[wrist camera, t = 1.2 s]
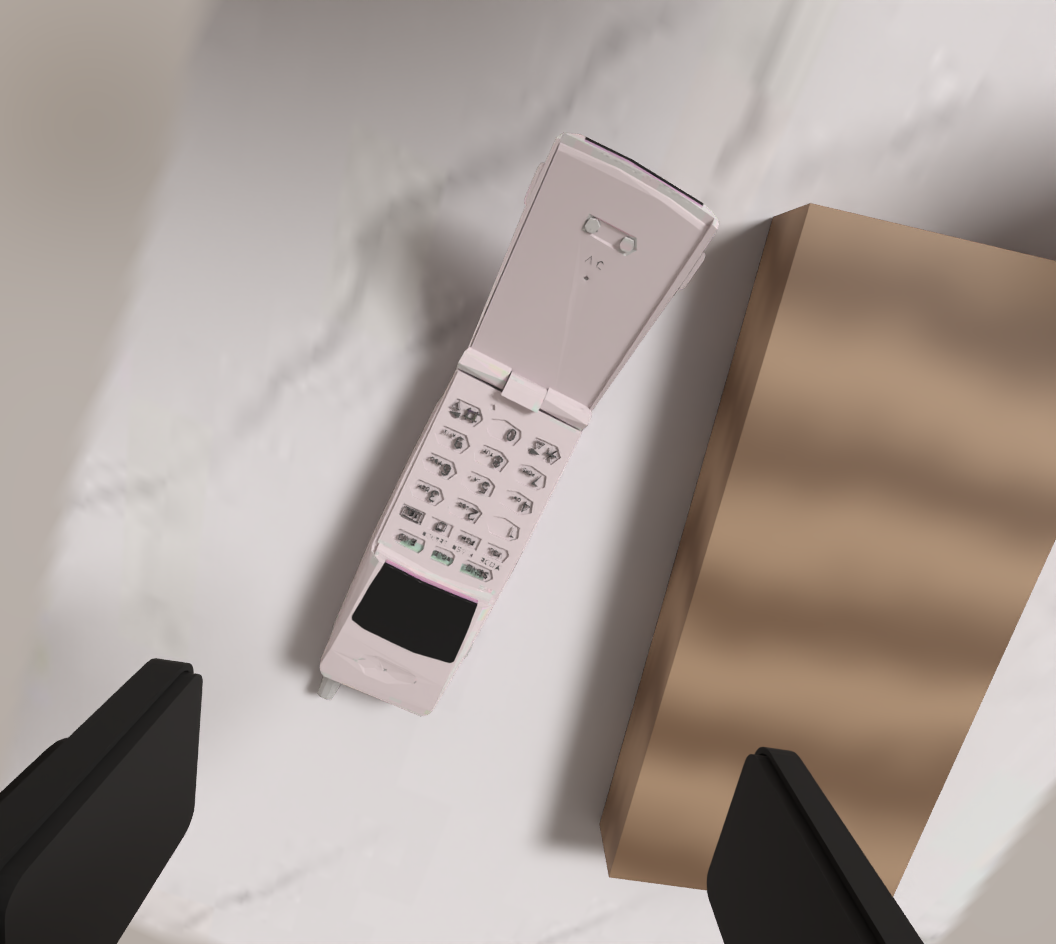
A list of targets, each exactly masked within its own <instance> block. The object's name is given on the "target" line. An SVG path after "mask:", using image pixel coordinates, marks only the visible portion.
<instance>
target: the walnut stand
mask: <svg viewBox="0 0 1056 944" xmlns="http://www.w3.org/2000/svg"><path fill="white" fill-rule="evenodd" d="M1055 540H1056V261H1054V260H1049V259H1045V258H1041V257H1037V256H1032V255H1028V254H1024V253H1020V252H1016V251H1011V250H1007V249H1003V248H999V247H994V246H990V245H986V244H982V243H977V242H973V241H969V240H965V239H960V238H956V237H952V236H948V235H943V234H939V233H935V232H931V231H926V230H922V229H918V228H914V227H909V226H905V225H901V224H897V223H892V222H888V221H884V220H880V219H875V218H871V217H867V216H863V215H858V214H854V213H850V212H846V211H841V210H837V209H833V208H829V207H824V206H820V205H816V204H812V203H809V204H807V205H804V206H801V207H799V208H796V209H793V210H791V211H788V212H785V213H783V214H780V215H777V216H775V217H773V219H772V222H771V226H770V229H769V233H768V236H767V240H766V243H765V247H764V250H763V254H762V257H761V261H760V264H759V268H758V271H757V275H756V278H755V282H754V285H753V289H752V292H751V296H750V299H749V303H748V306H747V310H746V313H745V317H744V320H743V324H742V327H741V331H740V334H739V338H738V341H737V345H736V348H735V352H734V355H733V359H732V362H731V366H730V369H729V373H728V376H727V380H726V383H725V387H724V390H723V394H722V397H721V401H720V404H719V408H718V411H717V415H716V418H715V422H714V425H713V429H712V432H711V436H710V439H709V443H708V446H707V450H706V453H705V457H704V460H703V464H702V467H701V471H700V474H699V478H698V481H697V485H696V488H695V492H694V495H693V499H692V502H691V506H690V509H689V513H688V516H687V520H686V523H685V527H684V530H683V534H682V537H681V541H680V544H679V548H678V551H677V555H676V558H675V562H674V565H673V569H672V572H671V576H670V579H669V583H668V586H667V590H666V593H665V597H664V600H663V604H662V607H661V611H660V614H659V618H658V621H657V625H656V628H655V632H654V635H653V639H652V642H651V646H650V649H649V653H648V656H647V660H646V663H645V667H644V670H643V674H642V677H641V681H640V684H639V688H638V691H637V695H636V698H635V702H634V705H633V709H632V712H631V716H630V719H629V723H628V726H627V730H626V733H625V737H624V740H623V744H622V747H621V751H620V754H619V758H618V761H617V765H616V768H615V772H614V775H613V779H612V782H611V786H610V789H609V793H608V796H607V800H606V803H605V807H604V810H603V814H602V817H601V821H600V830H601V835H602V841H603V846H604V852H605V858H606V863H607V869H608V875H609V877H611V878H619V879H626V880H633V881H641V882H648V883H656V884H663V885H671V886H678V887H686V888H693V889H701V890H707V874H708V870H709V867H710V864H711V861H712V858H713V855H714V852H715V849H716V846H717V843H718V840H719V837H720V834H721V831H722V828H723V825H724V822H725V819H726V816H727V813H728V810H729V807H730V804H731V801H732V798H733V795H734V792H735V789H736V786H737V783H738V780H739V777H740V774H741V771H742V768H743V765H744V762H745V760H746V757H747V756H748V755H749V754H755V752H756V750H757V749H758V748H759V747H769V748H776V749H782V750H789V751H793V752H795V753H796V754H797V755H798V756H799V757H800V758H801V760H802V761H803V763H804V764H805V766H806V767H807V769H808V770H809V772H810V773H811V775H812V776H813V778H814V779H815V781H816V782H817V784H818V785H819V787H820V788H821V790H822V791H823V793H824V794H825V796H826V797H827V799H828V800H829V802H830V803H831V805H832V806H833V808H834V809H835V811H836V812H837V814H838V815H839V817H840V818H841V820H842V821H843V823H844V824H845V826H846V827H847V829H848V830H849V832H850V833H851V835H852V836H853V838H854V839H855V841H856V842H857V844H858V845H859V847H860V848H861V850H862V851H863V853H864V854H865V856H866V857H867V859H868V860H869V862H870V863H871V865H872V866H873V868H874V869H875V871H876V872H877V874H878V875H879V877H880V878H881V880H882V881H883V883H884V884H885V886H886V887H887V889H888V890H889V892H890V893H891V895H892V896H894V893H895V891H896V889H897V887H898V885H899V882H900V880H901V878H902V876H903V874H904V871H905V869H906V867H907V865H908V863H909V860H910V858H911V856H912V854H913V852H914V850H915V847H916V845H917V843H918V841H919V839H920V836H921V834H922V832H923V830H924V828H925V825H926V823H927V821H928V819H929V817H930V814H931V812H932V810H933V808H934V806H935V803H936V801H937V799H938V797H939V795H940V792H941V790H942V788H943V786H944V784H945V781H946V779H947V777H948V775H949V773H950V770H951V768H952V766H953V764H954V762H955V759H956V757H957V755H958V753H959V751H960V748H961V746H962V744H963V742H964V740H965V737H966V735H967V733H968V731H969V729H970V726H971V724H972V722H973V720H974V718H975V715H976V713H977V711H978V709H979V707H980V704H981V702H982V700H983V698H984V696H985V693H986V691H987V689H988V687H989V685H990V682H991V680H992V678H993V676H994V674H995V671H996V669H997V667H998V665H999V663H1000V660H1001V658H1002V656H1003V654H1004V652H1005V649H1006V647H1007V645H1008V643H1009V641H1010V638H1011V636H1012V634H1013V632H1014V630H1015V627H1016V625H1017V623H1018V621H1019V619H1020V617H1021V614H1022V612H1023V610H1024V608H1025V606H1026V603H1027V601H1028V599H1029V597H1030V595H1031V592H1032V590H1033V588H1034V586H1035V584H1036V581H1037V579H1038V577H1039V575H1040V573H1041V570H1042V568H1043V566H1044V564H1045V562H1046V559H1047V557H1048V555H1049V553H1050V551H1051V548H1052V546H1053V544H1054V542H1055Z"/></svg>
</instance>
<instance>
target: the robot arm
mask: <svg viewBox="0 0 1056 944" xmlns="http://www.w3.org/2000/svg"><path fill="white" fill-rule="evenodd" d="M202 684H203V680H202V676H201V675H200V674H194V672H193V667H192V665H191V664H190V663H184V662H177V661H170V660H164V659H157V658H155V659H151V660H150V661H148V662H147V663H146V664H145V665H144V666H143V667H142V668H141V669H140V670H139V671H138V672H136V673H135V674H134V675H133V676H132V677H131V678H130V679H129V680H128V681H127V682H126V683H125V684H124V685H123V686H122V687H121V688H120V689H119V690H118V691H117V692H116V693H114V694H113V695H112V696H111V697H110V698H109V699H108V700H107V701H106V702H105V703H104V704H103V705H102V706H101V707H100V708H99V709H98V710H97V711H96V712H95V713H94V714H93V715H91V716H90V717H89V718H88V719H87V720H86V721H85V722H84V723H83V724H82V725H81V726H80V727H79V728H78V729H77V730H76V731H75V732H74V733H73V734H72V735H71V736H70V737H68V738H64V739H61V740H59V741H57V742H55V743H54V744H53V745H51V746H50V747H49V748H47V749H46V750H45V751H44V752H43V753H42V754H41V755H40V756H39V757H38V758H37V759H36V760H35V761H34V762H32V763H31V764H30V765H29V766H28V767H27V768H26V769H25V770H24V771H23V772H22V773H21V774H20V775H19V776H18V777H16V778H15V779H14V780H13V781H12V782H11V783H10V784H9V785H8V786H7V787H6V788H5V789H4V790H3V791H1V792H0V944H117V943H118V941H119V939H120V938H121V936H122V934H123V933H124V931H125V930H126V928H127V926H128V925H129V923H130V922H131V920H132V918H133V917H134V915H135V914H136V912H137V910H138V909H139V907H140V906H141V904H142V902H143V901H144V899H145V898H146V896H147V894H148V893H149V891H150V890H151V888H152V886H153V885H154V883H155V882H156V880H157V878H158V877H159V875H160V874H161V872H162V870H163V869H164V867H165V866H166V864H167V862H168V861H169V859H170V858H171V856H172V854H173V853H174V851H175V850H176V848H177V846H178V845H179V843H180V842H181V840H182V838H183V837H184V835H185V833H186V831H187V829H188V827H189V825H190V822H191V819H192V816H193V812H194V806H195V791H196V776H197V761H198V746H199V730H200V715H201V700H202ZM707 893H708V897H709V901H710V904H711V907H712V910H713V912H714V915H715V918H716V921H717V924H718V927H719V930H720V933H721V936H722V938H723V941H724V944H924V943H923V942H922V940H921V939H920V937H919V936H918V934H917V933H916V931H915V930H914V928H913V926H912V925H911V923H910V922H909V920H908V919H907V917H906V916H905V914H904V913H903V911H902V910H901V908H900V907H899V905H898V904H897V902H896V901H895V899H894V898H893V896H892V895H891V893H890V892H889V890H888V889H887V887H886V886H885V884H884V883H883V881H882V880H881V878H880V877H879V875H878V874H877V872H876V871H875V869H874V868H873V866H872V865H871V863H870V862H869V860H868V859H867V857H866V856H865V854H864V853H863V851H862V850H861V848H860V847H859V845H858V844H857V842H856V841H855V839H854V838H853V836H852V835H851V833H850V832H849V830H848V829H847V827H846V826H845V824H844V823H843V821H842V820H841V818H840V817H839V815H838V814H837V812H836V811H835V809H834V808H833V806H832V805H831V803H830V802H829V800H828V799H827V797H826V796H825V794H824V793H823V791H822V790H821V788H820V787H819V785H818V784H817V782H816V781H815V779H814V778H813V776H812V775H811V773H810V772H809V770H808V769H807V767H806V766H805V764H804V763H803V761H802V760H801V758H800V757H799V756H798V755H797V754H796V753H795V752H793V751H789V750H782V749H776V748H769V747H759V748H758V749H757V750H756V752H755V754H749V755H748V756H747V757H746V760H745V762H744V765H743V768H742V771H741V774H740V777H739V780H738V783H737V786H736V789H735V792H734V795H733V798H732V801H731V804H730V807H729V810H728V813H727V816H726V819H725V822H724V825H723V828H722V831H721V834H720V837H719V840H718V843H717V846H716V849H715V852H714V855H713V858H712V861H711V864H710V867H709V870H708V874H707Z"/></svg>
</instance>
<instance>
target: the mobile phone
mask: <svg viewBox="0 0 1056 944" xmlns="http://www.w3.org/2000/svg"><path fill="white" fill-rule="evenodd" d="M524 203H525V204H526V206H525V209H524V211H523V213H522V215H521V218H520V220H519V223H518V225H517V228H516V230H515V233H514V235H513V238H512V240H511V243H510V245H509V248H508V250H507V253H506V255H505V258H504V260H503V263H502V265H501V267H500V270H499V272H498V275H497V277H496V280H495V282H494V285H493V287H492V290H491V292H490V295H489V297H488V300H487V302H486V305H485V307H484V310H483V312H482V315H481V317H480V320H479V322H478V325H477V327H476V329H475V332H474V334H473V337H472V339H471V342H470V344H469V347H468V349H467V350H466V351H464V353H463V355H462V357H461V359H460V361H459V363H458V365H457V369H456V370H455V372H454V374H453V376H452V378H451V380H450V382H449V384H448V386H447V388H446V390H445V392H444V394H443V396H442V397H441V398H440V399H439V401H438V402H437V404H436V406H435V408H434V410H433V412H432V414H431V416H430V418H429V420H428V422H427V424H426V426H425V428H424V430H423V432H422V434H421V436H420V438H419V440H418V442H417V444H416V446H415V447H414V449H413V451H412V453H411V455H410V457H409V459H408V462H407V464H406V466H405V468H404V470H403V472H402V474H401V476H400V478H399V480H398V482H397V484H396V486H395V488H394V490H393V493H392V495H391V497H390V499H389V501H388V503H387V505H386V507H385V509H384V511H383V513H382V515H381V517H380V519H379V522H378V524H377V526H376V528H375V530H374V532H373V534H372V536H371V539H370V541H369V543H368V546H367V548H366V550H365V553H364V555H363V557H362V560H361V562H360V564H359V567H358V569H357V571H356V574H355V576H354V578H353V581H352V583H351V585H350V588H349V590H348V592H347V595H346V597H345V599H344V602H343V604H342V606H341V609H340V611H339V613H338V616H337V618H336V620H335V623H334V625H333V632H332V634H331V636H330V638H329V641H328V643H327V645H326V648H325V650H324V652H323V655H322V657H321V661H320V671H321V673H322V675H323V678H322V681H321V684H320V687H319V690H318V693H317V694H318V695H319V696H320V697H322V698H324V699H326V700H331V699H332V698H333V696H334V695H335V693H336V691H337V690H338V688H339V686H340V685H341V684H344V685H346V686H349V687H351V688H353V689H356V690H358V691H361V692H363V693H366V694H368V695H370V696H373V697H375V698H378V699H380V700H382V701H385V702H387V703H390V704H392V705H395V706H397V707H399V708H402V709H404V710H407V711H409V712H411V713H414V714H416V715H419V716H425V715H428V714H430V713H431V712H432V711H433V709H434V708H435V706H436V704H437V703H438V701H439V699H440V698H441V696H442V694H443V693H444V691H445V689H446V688H447V686H448V684H449V683H450V681H451V679H452V678H453V676H454V674H455V672H456V671H457V669H458V667H459V666H460V664H461V662H462V661H463V659H464V658H465V657H466V656H467V655H468V653H469V651H470V650H471V648H472V645H473V642H474V640H475V638H476V637H477V635H478V633H479V631H480V630H481V628H482V626H483V624H484V622H485V621H486V619H487V617H488V615H489V613H490V612H491V610H492V608H493V606H494V605H495V603H496V601H497V599H498V597H499V595H500V594H501V592H502V590H503V588H504V586H505V584H506V583H507V581H508V579H509V577H510V575H511V573H512V571H513V570H514V568H515V566H516V564H517V562H518V560H519V558H520V557H521V555H522V553H523V551H524V549H525V547H526V545H527V543H528V541H529V539H530V537H531V535H532V533H533V531H534V529H535V527H536V525H537V523H538V521H539V519H540V517H541V515H542V513H543V511H544V509H545V507H546V505H547V503H548V501H549V499H550V497H551V495H552V493H553V491H554V489H555V487H556V485H557V482H558V480H559V478H560V476H561V474H562V472H563V470H564V468H565V466H566V464H567V462H568V460H569V458H570V456H571V454H572V452H573V450H574V448H575V446H576V444H577V442H578V440H579V438H580V436H581V434H582V430H583V429H584V428H586V427H587V426H588V424H589V421H590V419H591V417H592V410H593V409H594V408H595V406H596V405H597V403H598V402H599V401H600V399H601V398H602V396H603V395H604V393H605V392H606V391H607V389H608V388H609V386H610V385H611V383H612V382H613V381H614V379H615V378H616V376H617V375H618V374H619V372H620V371H621V369H622V368H623V366H624V365H625V364H626V362H627V361H628V359H629V358H630V357H631V355H632V354H633V352H634V351H635V349H636V348H637V347H638V345H639V344H640V342H641V341H642V340H643V338H644V337H645V335H646V334H647V332H648V331H649V330H650V328H651V327H652V325H653V324H654V323H655V321H656V320H657V318H658V317H659V315H660V314H661V313H662V311H663V310H664V308H665V307H666V306H667V304H668V303H669V301H670V300H671V298H672V297H673V296H674V295H675V293H676V292H677V291H678V289H680V290H682V289H684V288H685V287H686V286H687V284H688V283H689V281H690V280H691V278H692V277H693V276H694V274H695V273H696V271H697V270H698V268H699V267H700V265H701V264H702V262H703V261H704V259H705V253H704V252H703V251H704V250H705V248H706V247H707V245H708V244H709V242H710V241H711V239H712V238H713V236H714V235H715V233H716V232H717V230H718V226H719V221H718V219H717V218H716V216H715V215H714V214H713V213H712V211H711V210H710V209H709V208H708V207H706V206H705V205H704V204H703V203H702V202H700V201H699V200H697V199H695V198H694V197H692V196H690V195H689V194H687V193H686V192H684V191H682V190H681V189H679V188H678V187H676V186H674V185H673V184H671V183H669V182H668V181H666V180H665V179H663V178H661V177H660V176H658V175H656V174H655V173H653V172H652V171H650V170H648V169H647V168H645V167H644V166H642V165H640V164H639V163H637V162H635V161H634V160H632V159H630V158H628V157H626V156H624V155H622V154H620V153H618V152H616V151H614V150H612V149H610V148H608V147H606V146H604V145H601V144H599V143H597V142H595V141H593V140H591V139H589V138H587V137H585V136H583V135H581V134H574V133H562V134H561V135H559V136H558V137H557V138H556V139H555V141H554V144H553V146H552V148H551V150H550V153H549V155H548V157H547V159H546V162H545V163H541V164H540V165H539V166H538V168H537V171H536V173H535V175H534V177H533V180H532V182H531V184H530V187H529V189H528V192H527V194H526V196H525V199H524ZM483 316H484V317H483ZM482 318H483V319H482ZM481 320H482V322H481ZM480 322H481V324H480ZM479 325H480V327H479ZM478 327H479V329H478ZM477 329H478V331H477ZM476 331H477V334H476ZM475 334H476V336H475ZM474 336H475V339H474V341H473V343H472V340H473V338H474ZM471 343H472V345H471ZM470 345H471V346H470Z"/></svg>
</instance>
